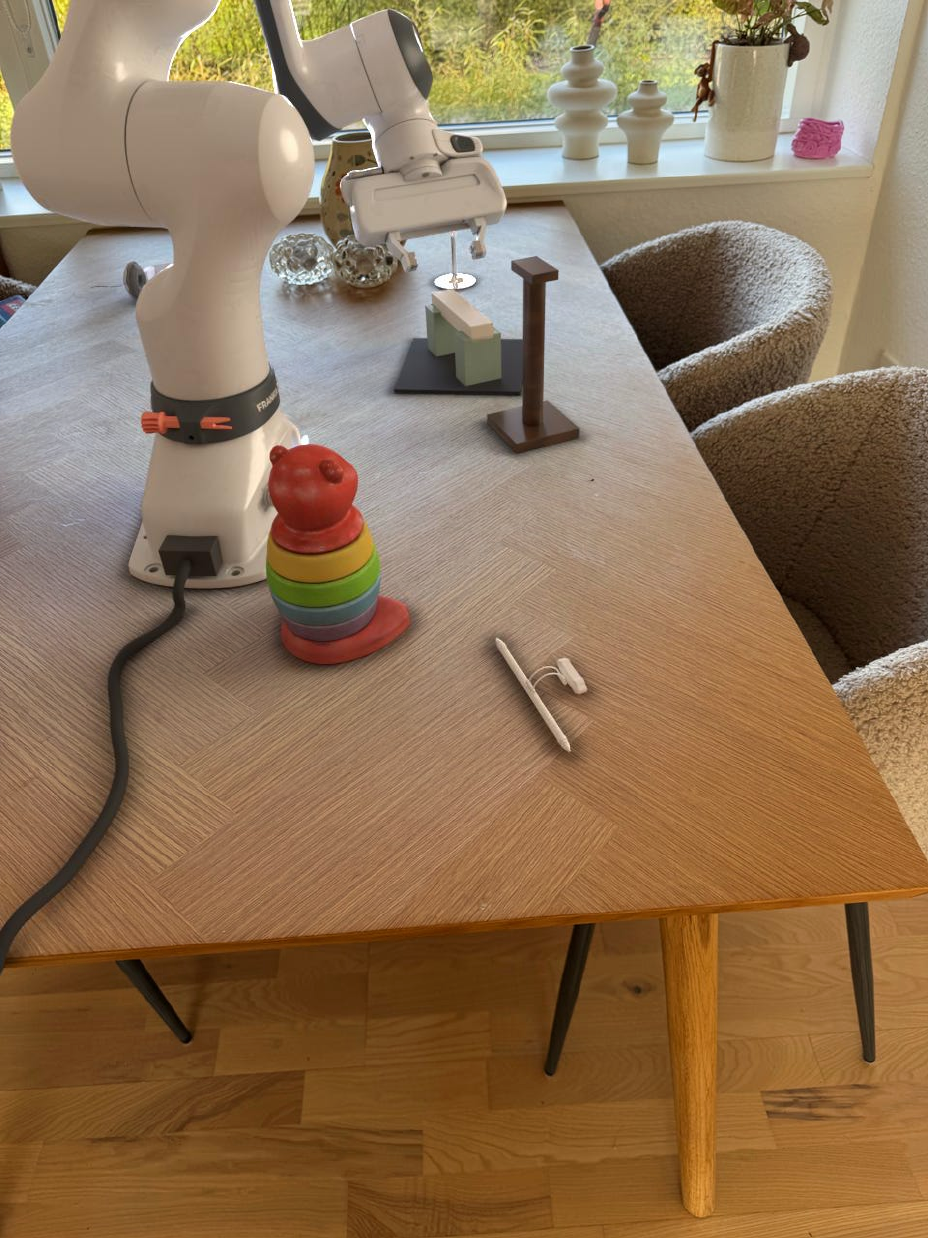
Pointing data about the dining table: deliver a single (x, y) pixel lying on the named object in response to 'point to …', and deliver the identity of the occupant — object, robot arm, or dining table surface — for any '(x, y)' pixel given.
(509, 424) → the stand
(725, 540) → the dining table surface
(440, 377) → the desk mat
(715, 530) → the dining table surface
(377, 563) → the stacking bear
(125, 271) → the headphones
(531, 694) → the picture light
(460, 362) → the sage green twin blocks
